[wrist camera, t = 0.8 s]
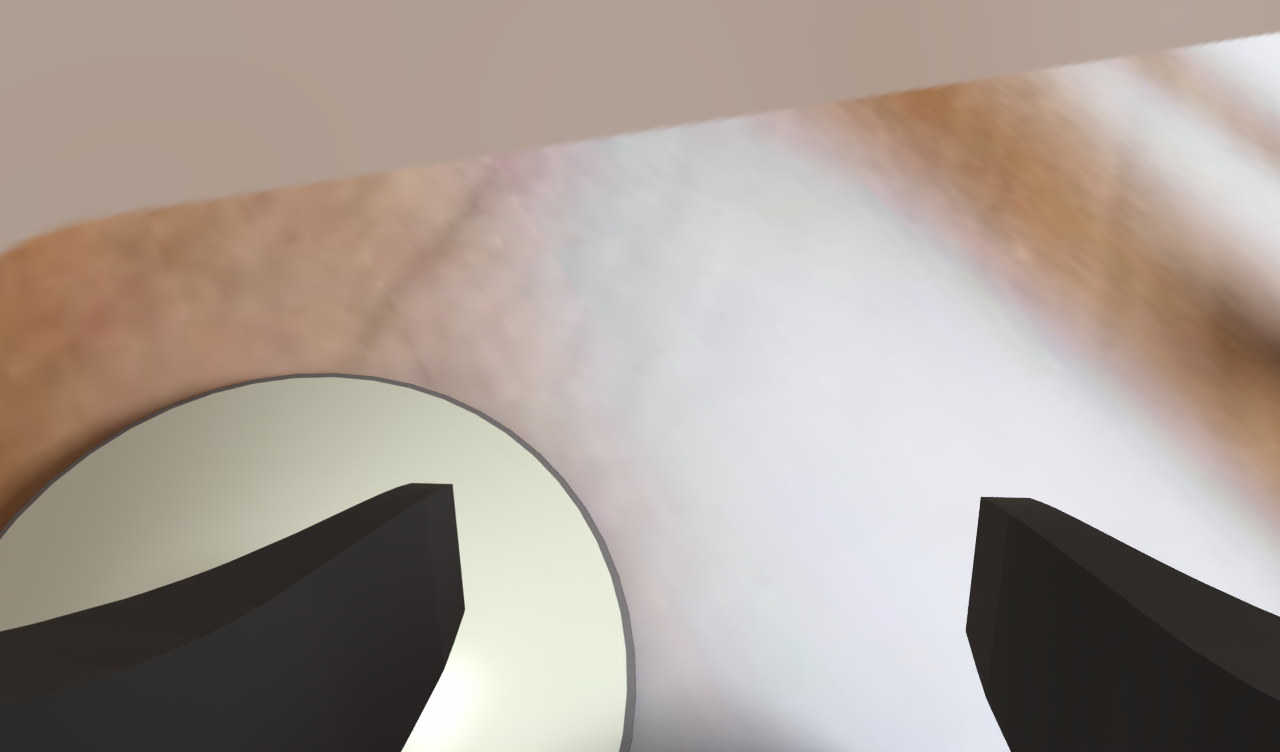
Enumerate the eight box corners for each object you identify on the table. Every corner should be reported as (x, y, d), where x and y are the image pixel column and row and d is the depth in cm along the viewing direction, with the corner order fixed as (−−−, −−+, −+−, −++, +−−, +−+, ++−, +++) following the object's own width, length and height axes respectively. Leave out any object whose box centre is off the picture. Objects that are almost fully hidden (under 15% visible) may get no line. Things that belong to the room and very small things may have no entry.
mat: (273, 1320, 17) (270, 1332, 16) (-281, 718, 18) (-294, 717, 18) (743, 646, 26) (748, 645, 25) (343, 278, 27) (343, 272, 27)
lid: (273, 1285, 17) (251, 1392, 14) (-253, 715, 18) (-372, 705, 15) (727, 646, 25) (771, 631, 22) (342, 290, 27) (337, 234, 24)
